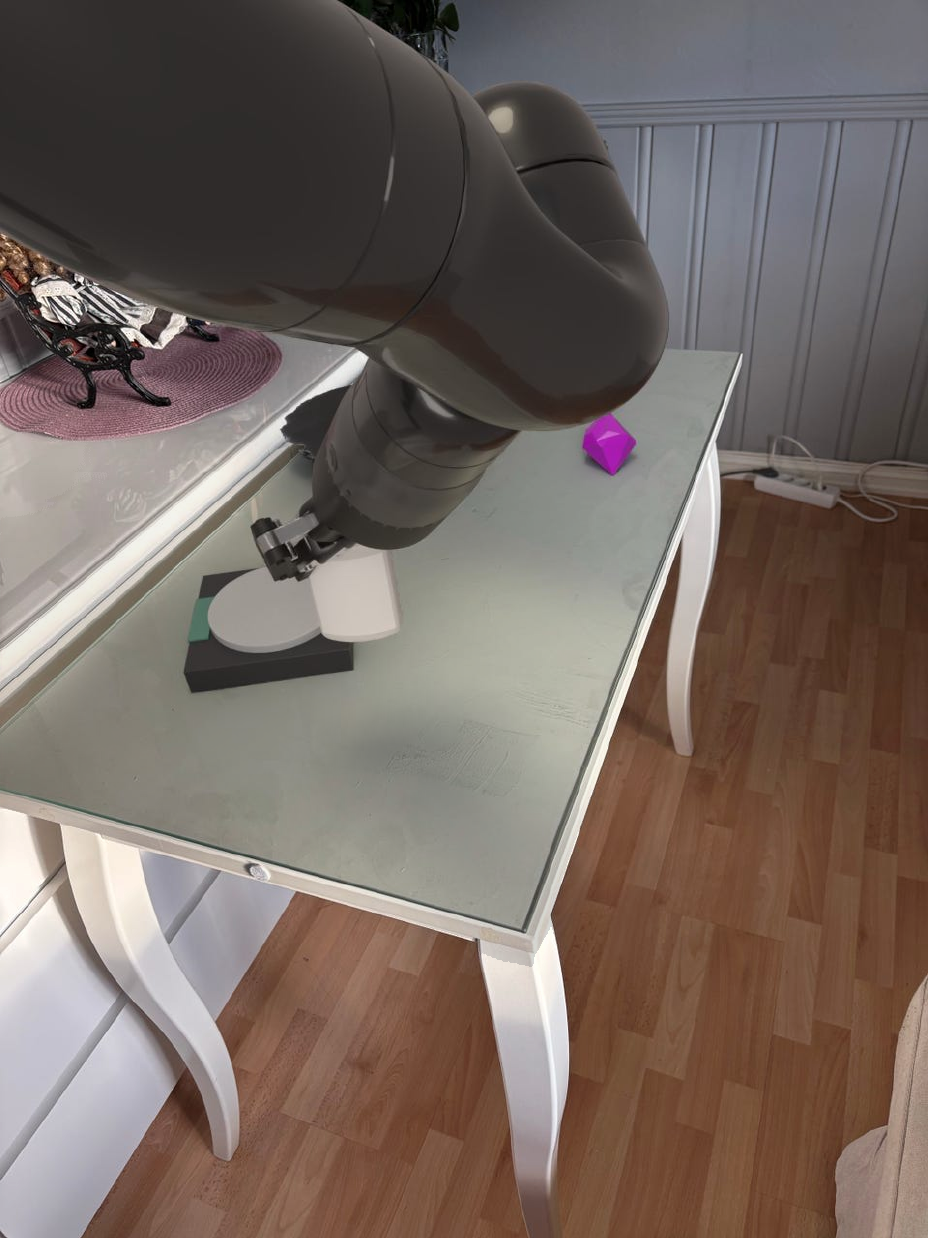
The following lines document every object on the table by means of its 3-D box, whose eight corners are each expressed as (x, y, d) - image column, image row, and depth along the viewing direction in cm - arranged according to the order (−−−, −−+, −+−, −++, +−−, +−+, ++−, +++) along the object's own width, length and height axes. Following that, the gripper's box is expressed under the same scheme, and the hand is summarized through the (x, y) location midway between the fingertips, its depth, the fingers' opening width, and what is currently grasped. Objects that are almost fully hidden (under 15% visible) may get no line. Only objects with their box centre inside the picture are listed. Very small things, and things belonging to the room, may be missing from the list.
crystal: (576, 461, 102) (575, 424, 99) (610, 443, 104) (610, 406, 101) (609, 477, 99) (610, 439, 96) (644, 458, 101) (645, 421, 98)
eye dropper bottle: (378, 657, 60) (347, 502, 53) (312, 636, 63) (272, 485, 55) (414, 619, 63) (388, 467, 56) (348, 599, 66) (315, 451, 58)
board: (344, 403, 119) (337, 366, 116) (501, 417, 112) (498, 378, 109) (256, 490, 104) (245, 450, 101) (431, 513, 96) (426, 471, 93)
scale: (189, 693, 78) (179, 665, 76) (208, 595, 89) (199, 568, 87) (353, 670, 78) (346, 641, 76) (351, 575, 89) (346, 548, 87)
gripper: (306, 577, 42) (263, 644, 58) (552, 470, 48) (451, 557, 63) (234, 435, 42) (210, 539, 58) (486, 344, 48) (402, 462, 64)
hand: (336, 548), depth 61 cm, fingers closed on eye dropper bottle, 5 cm apart
